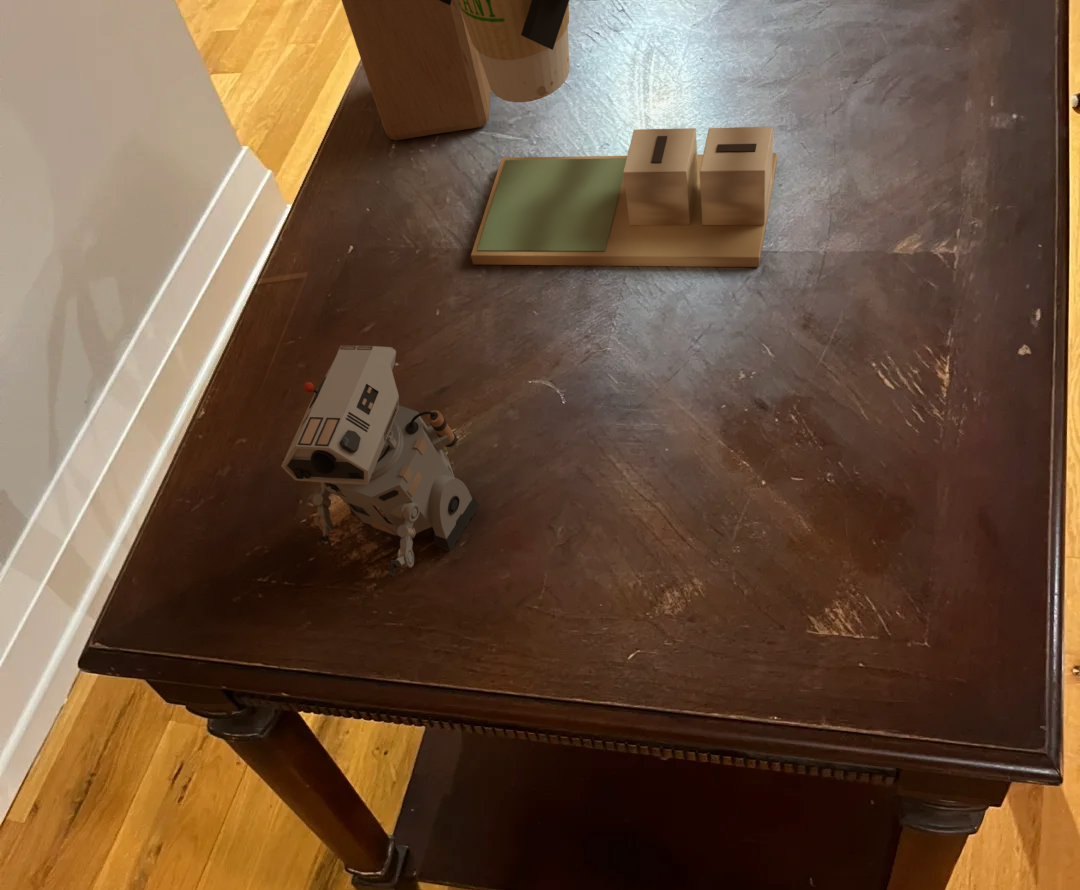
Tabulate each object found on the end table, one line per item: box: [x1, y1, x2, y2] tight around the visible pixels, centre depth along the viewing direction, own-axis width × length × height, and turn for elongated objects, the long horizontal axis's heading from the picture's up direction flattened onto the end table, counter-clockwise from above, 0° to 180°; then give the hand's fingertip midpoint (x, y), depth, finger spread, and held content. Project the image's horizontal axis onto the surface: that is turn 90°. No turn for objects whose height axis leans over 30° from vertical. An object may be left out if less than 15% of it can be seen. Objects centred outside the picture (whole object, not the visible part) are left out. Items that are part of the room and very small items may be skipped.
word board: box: [470, 126, 778, 268], centre depth 89 cm, size 24×12×6 cm, turn 78°
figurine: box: [280, 345, 479, 579], centre depth 74 cm, size 9×12×15 cm
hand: (484, 19), depth 77 cm, fingers closed on coffee cup, 10 cm apart
